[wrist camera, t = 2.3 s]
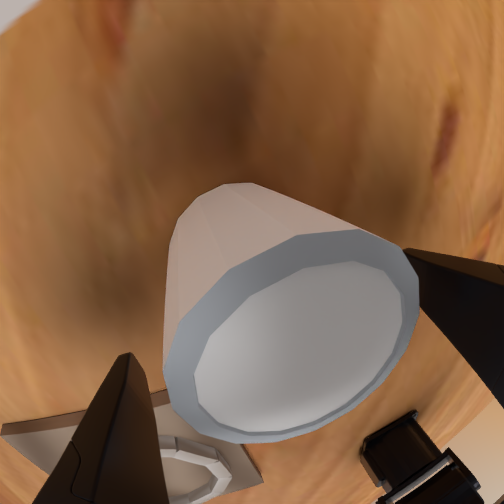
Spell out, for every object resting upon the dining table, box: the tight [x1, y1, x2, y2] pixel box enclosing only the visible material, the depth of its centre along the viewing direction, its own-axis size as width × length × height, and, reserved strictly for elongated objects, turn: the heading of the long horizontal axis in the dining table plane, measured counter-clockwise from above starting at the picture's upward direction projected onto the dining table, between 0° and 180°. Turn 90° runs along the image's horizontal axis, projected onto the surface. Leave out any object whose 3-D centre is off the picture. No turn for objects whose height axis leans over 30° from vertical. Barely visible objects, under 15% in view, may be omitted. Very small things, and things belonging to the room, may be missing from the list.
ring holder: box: [0, 390, 264, 504], centre depth 17 cm, size 15×15×2 cm
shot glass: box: [163, 183, 419, 444], centre depth 10 cm, size 7×7×7 cm
